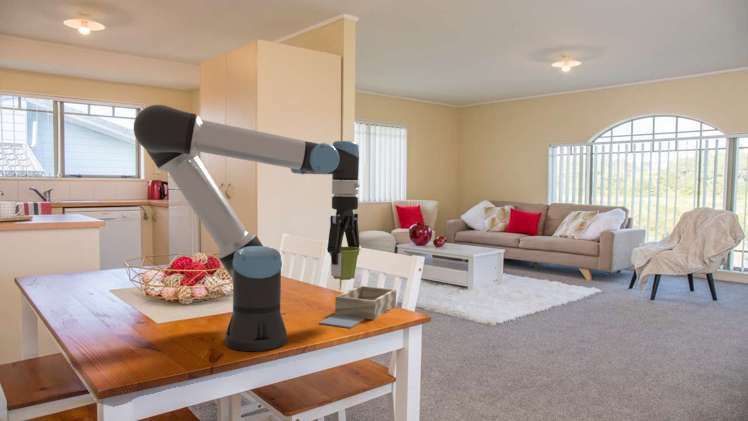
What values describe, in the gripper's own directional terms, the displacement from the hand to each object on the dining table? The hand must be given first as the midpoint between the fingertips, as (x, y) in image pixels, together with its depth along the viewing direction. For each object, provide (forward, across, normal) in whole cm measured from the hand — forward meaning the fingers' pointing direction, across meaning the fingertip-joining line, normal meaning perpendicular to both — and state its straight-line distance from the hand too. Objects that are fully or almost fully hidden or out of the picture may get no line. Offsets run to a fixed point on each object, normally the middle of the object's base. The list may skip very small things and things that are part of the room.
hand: (343, 273), depth 152 cm
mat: (+14, 0, 0) cm, 14 cm away
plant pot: (+2, 0, 0) cm, 2 cm away
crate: (+14, +16, -1) cm, 21 cm away
